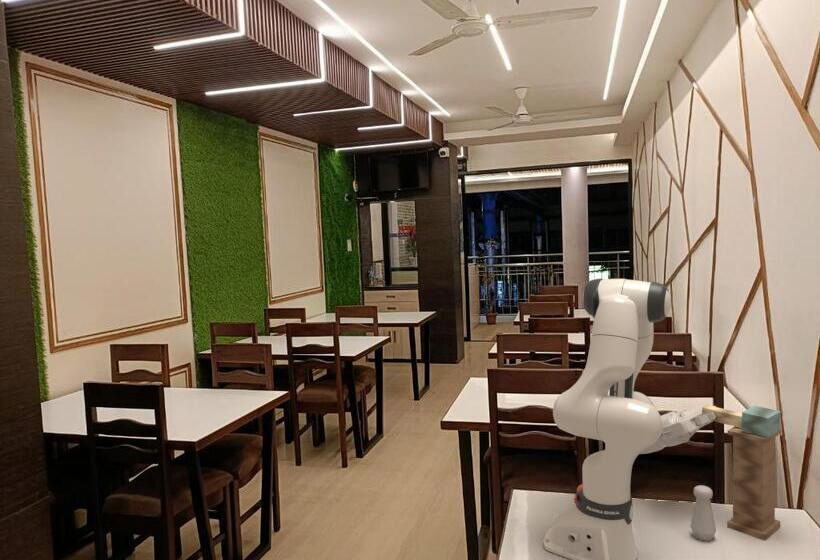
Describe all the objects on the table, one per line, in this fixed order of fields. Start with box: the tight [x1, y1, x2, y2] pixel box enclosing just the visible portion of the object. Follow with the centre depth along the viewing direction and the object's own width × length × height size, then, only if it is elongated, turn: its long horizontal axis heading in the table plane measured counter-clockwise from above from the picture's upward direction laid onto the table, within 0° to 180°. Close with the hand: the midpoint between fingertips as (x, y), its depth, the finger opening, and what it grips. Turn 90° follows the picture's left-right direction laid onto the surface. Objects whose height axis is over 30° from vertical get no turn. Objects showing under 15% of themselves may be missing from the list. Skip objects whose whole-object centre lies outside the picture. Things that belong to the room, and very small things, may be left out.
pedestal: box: [726, 426, 782, 542], centre depth 151 cm, size 9×10×26 cm
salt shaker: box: [690, 484, 717, 542], centre depth 147 cm, size 6×6×13 cm
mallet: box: [701, 404, 782, 438], centre depth 152 cm, size 17×8×5 cm, turn 39°
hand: (718, 413), depth 156 cm, fingers closed on mallet, 3 cm apart
